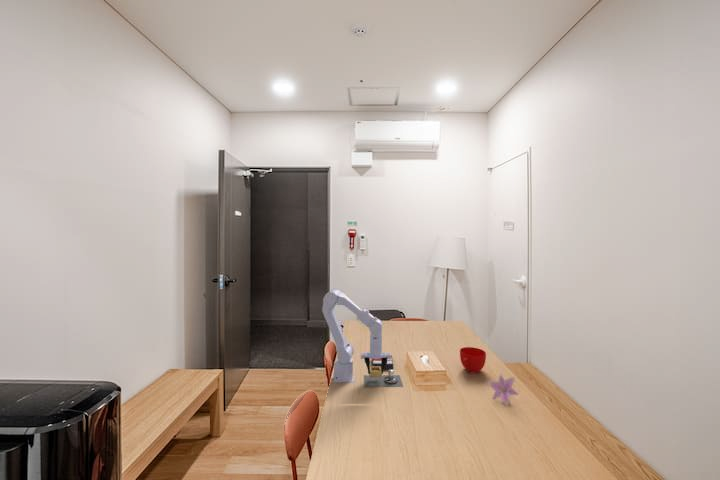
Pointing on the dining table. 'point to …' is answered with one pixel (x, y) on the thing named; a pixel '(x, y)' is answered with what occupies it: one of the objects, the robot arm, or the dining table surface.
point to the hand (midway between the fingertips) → (375, 373)
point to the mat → (380, 382)
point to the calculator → (387, 367)
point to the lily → (503, 388)
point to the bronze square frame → (375, 372)
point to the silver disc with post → (391, 377)
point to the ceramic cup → (472, 359)
